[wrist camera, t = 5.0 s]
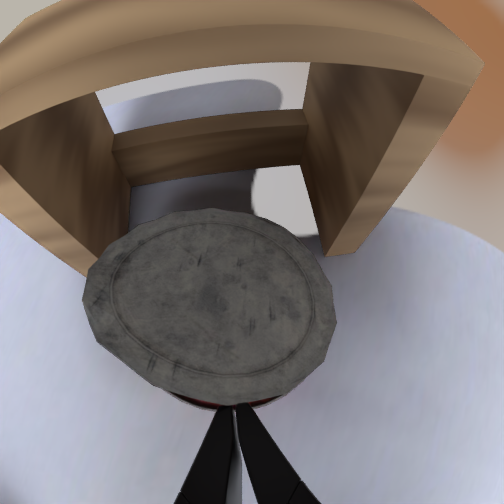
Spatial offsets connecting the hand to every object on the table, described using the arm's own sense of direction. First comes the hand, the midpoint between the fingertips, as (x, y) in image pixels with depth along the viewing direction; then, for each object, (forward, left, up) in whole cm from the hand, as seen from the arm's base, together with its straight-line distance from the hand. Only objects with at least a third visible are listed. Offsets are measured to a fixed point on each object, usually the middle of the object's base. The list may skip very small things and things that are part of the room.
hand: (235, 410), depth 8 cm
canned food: (+4, -2, -7) cm, 8 cm away
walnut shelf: (+9, -5, -7) cm, 13 cm away
